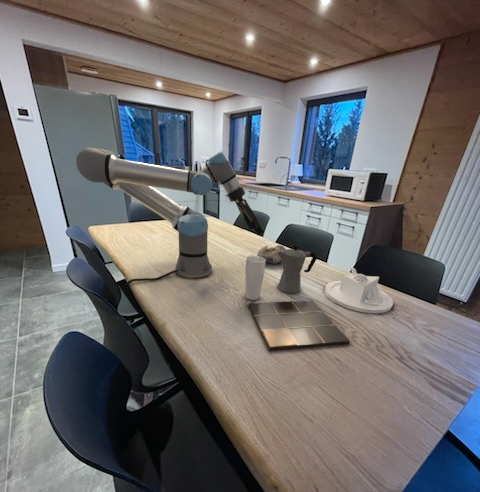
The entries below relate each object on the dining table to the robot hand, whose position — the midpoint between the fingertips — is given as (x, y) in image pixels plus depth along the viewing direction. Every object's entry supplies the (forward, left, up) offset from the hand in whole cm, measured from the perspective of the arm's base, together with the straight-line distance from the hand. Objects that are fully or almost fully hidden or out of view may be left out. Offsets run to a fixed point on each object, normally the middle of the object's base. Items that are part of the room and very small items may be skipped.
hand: (256, 231), depth 124 cm
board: (-1, -54, -16) cm, 56 cm away
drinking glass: (-10, -36, -16) cm, 40 cm away
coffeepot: (+8, -30, -16) cm, 35 cm away
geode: (+10, +2, -16) cm, 19 cm away
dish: (+32, -39, -16) cm, 53 cm away
